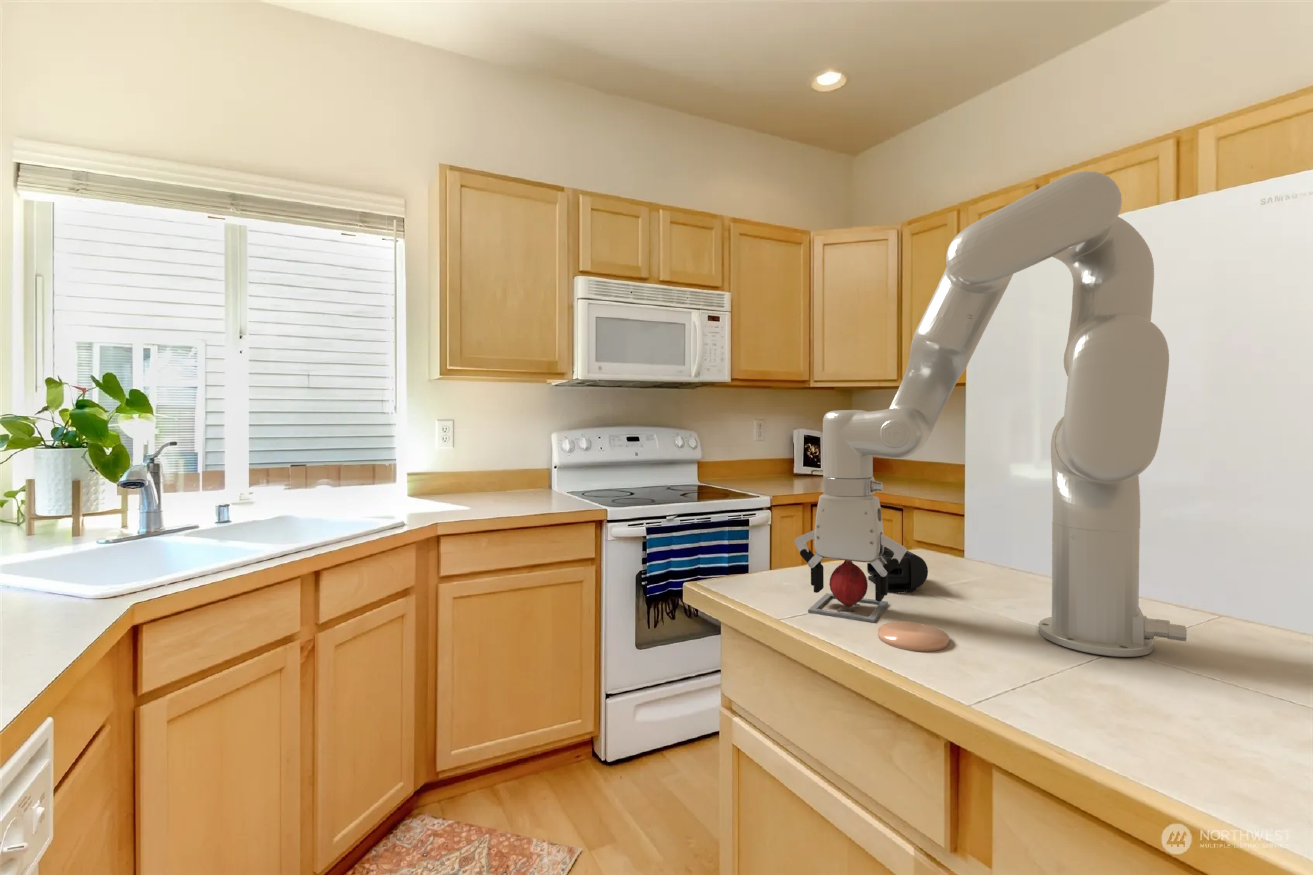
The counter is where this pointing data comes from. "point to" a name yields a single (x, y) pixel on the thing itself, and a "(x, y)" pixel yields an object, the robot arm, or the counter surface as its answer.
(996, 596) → the counter surface
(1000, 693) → the counter surface
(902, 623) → the disc
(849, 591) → the onion
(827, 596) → the frame
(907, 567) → the end cap
